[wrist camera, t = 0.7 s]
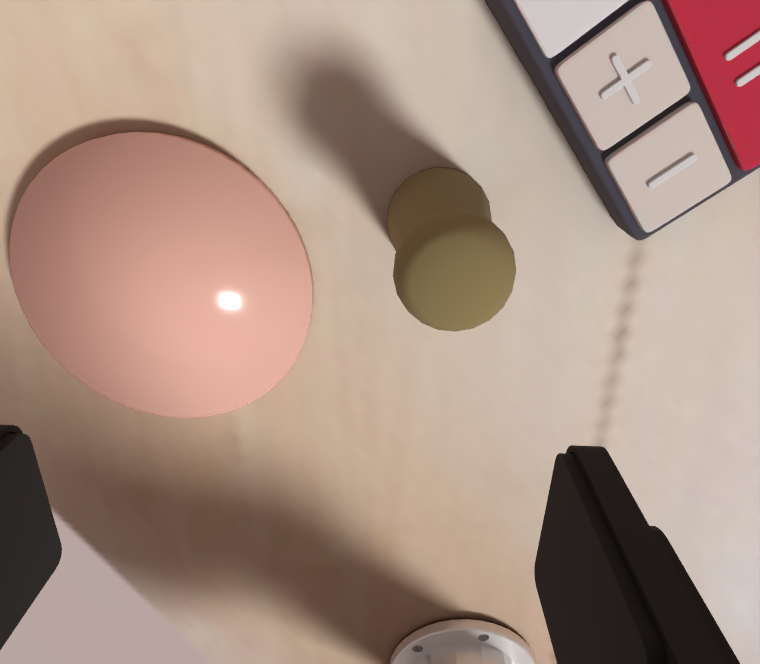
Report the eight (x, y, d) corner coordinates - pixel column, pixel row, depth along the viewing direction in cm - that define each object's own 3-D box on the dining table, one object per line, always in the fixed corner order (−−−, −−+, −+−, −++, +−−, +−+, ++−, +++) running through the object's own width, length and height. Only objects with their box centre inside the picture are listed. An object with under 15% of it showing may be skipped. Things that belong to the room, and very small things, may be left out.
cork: (451, 288, 34) (474, 376, 24) (367, 236, 33) (354, 305, 23) (512, 204, 32) (565, 263, 22) (424, 145, 31) (438, 178, 21)
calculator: (643, 249, 29) (493, -18, 24) (613, 226, 33) (478, -10, 28) (859, 116, 26) (744, -225, 21) (798, 107, 30) (688, -183, 25)
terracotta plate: (286, 434, 39) (283, 443, 38) (22, 376, 37) (13, 384, 37) (341, 177, 31) (339, 180, 31) (15, 93, 30) (3, 94, 29)
